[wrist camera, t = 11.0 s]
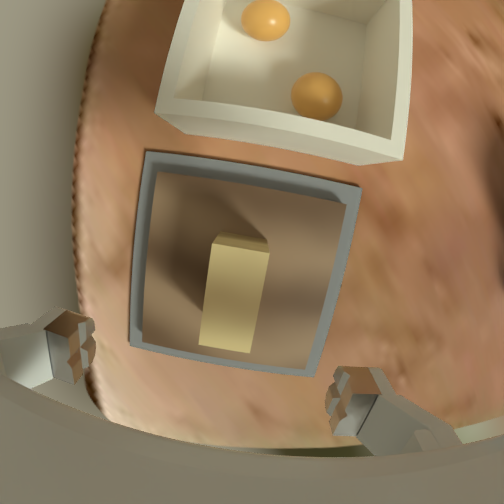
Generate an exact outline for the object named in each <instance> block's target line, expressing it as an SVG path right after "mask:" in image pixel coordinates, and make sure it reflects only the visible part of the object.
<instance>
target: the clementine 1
mask: <svg viewBox="0 0 504 504" xmlns="http://www.w3.org/2000/svg"><path fill="white" fill-rule="evenodd" d="M241 24H242V27H243V29H244V31H245V32H246V33H247V34H248V35H249V36H250V37H252V38H253V39H256V40H259V41H274V40H276V39H279V38H280V37H282V36H283V35H284V34H285V33H286V32H287V30H288V29H289V26H290V15H289V12H288V10H287V9H286V8H285V6H283V5H282V4H281V3H280V2H278V1H275V0H255V1H253V2H251V3H250V4H248V5H247V6H246V7H245V9H244V10H243V12H242V15H241Z"/></svg>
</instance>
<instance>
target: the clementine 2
mask: <svg viewBox="0 0 504 504" xmlns="http://www.w3.org/2000/svg"><path fill="white" fill-rule="evenodd" d="M342 100H343V96H342V91H341V88H340V86H339V84H338V83H337V82H336V81H335V80H334V79H333V78H332V77H330V76H329V75H327V74H324V73H320V72H311V73H307V74H305V75H303V76H301V77H300V78H298V79H297V80H296V82H295V83H294V85H293V87H292V90H291V101H292V104H293V106H294V108H295V110H296V111H297V112H298V113H299V114H300V115H301V116H303V117H306V118H310V119H315V120H319V121H324V120H328V119H330V118H332V117H333V116H334V115H335V114H337V112H338V111H339V109H340V108H341V105H342Z"/></svg>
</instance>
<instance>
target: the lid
mask: <svg viewBox="0 0 504 504" xmlns="http://www.w3.org/2000/svg"><path fill="white" fill-rule="evenodd" d="M346 205H347V204H343V203H339V202H334V201H330V200H325V199H320V198H315V197H311V196H306V195H301V194H296V193H290V192H285V191H280V190H275V189H269V188H264V187H258V186H252V185H246V184H240V183H234V182H228V181H222V180H216V179H209V178H202V177H196V176H189V175H181V174H174V173H166V172H157V178H156V184H155V191H154V198H153V206H152V214H151V222H150V231H149V240H148V250H147V261H146V273H145V287H144V304H143V326H142V342H144V343H149V344H153V345H157V346H162V347H166V348H171V349H175V350H180V351H185V352H190V353H195V354H200V355H206V356H211V357H217V358H223V359H228V360H235V361H241V362H247V363H254V364H261V365H269V366H276V367H285V368H293V369H302V370H305V368H306V365H307V362H308V358H309V355H310V352H311V348H312V345H313V341H314V338H315V334H316V331H317V327H318V324H319V320H320V316H321V313H322V309H323V305H324V301H325V298H326V294H327V290H328V286H329V282H330V278H331V274H332V269H333V265H334V261H335V257H336V252H337V248H338V244H339V239H340V234H341V230H342V225H343V220H344V215H345V210H346Z"/></svg>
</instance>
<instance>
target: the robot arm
mask: <svg viewBox="0 0 504 504" xmlns="http://www.w3.org/2000/svg"><path fill="white" fill-rule="evenodd" d="M94 331H95V325H94V321H93V319H92V318H90V317H86V316H83V315H80V314H77V313H74V312H71V311H68V310H66V309H62V308H59V307H53V308H52V309H51V310H50V311H48V312H47V313H46V314H44V315H43V316H41V317H40V318H39V319H38V320H36V321H35V322H33V323H32V324H31V325H30V324H21V325H16V326H10V327H5V328H0V504H504V434H503V435H499V436H495V437H492V438H488V439H484V440H480V441H476V442H471V443H467V444H462V442H461V441H460V439H459V438H458V436H457V435H456V433H455V432H454V430H453V428H452V427H451V425H449V424H447V423H445V422H444V421H442V420H440V419H439V418H437V417H435V416H434V415H432V414H430V413H429V412H427V411H426V410H424V409H422V408H421V407H419V406H417V405H416V404H414V403H412V402H411V401H409V400H408V399H406V398H404V397H403V396H401V395H396V393H395V391H394V390H393V388H392V386H391V385H390V383H389V381H388V379H387V378H386V376H385V374H384V373H383V371H382V369H380V368H373V367H349V366H338V367H337V369H336V370H335V373H334V375H333V377H334V380H335V382H334V383H333V384H332V385H330V386H329V388H328V391H327V393H326V399H325V408H326V412H327V413H328V414H329V415H330V416H331V418H330V420H329V424H330V427H331V431H332V435H336V436H357V438H358V439H359V440H360V441H361V442H362V443H363V444H364V445H365V446H366V447H367V448H368V449H369V450H370V451H371V452H372V453H373V454H374V455H375V456H369V457H338V458H337V457H336V458H335V457H334V458H333V457H297V456H282V455H281V456H280V455H269V454H259V453H250V452H242V451H235V450H228V449H222V448H215V447H209V446H204V445H199V444H194V443H189V442H184V441H179V440H175V439H171V438H166V437H162V436H158V435H154V434H151V433H147V432H143V431H140V430H136V429H133V428H129V427H126V426H123V425H120V424H117V423H113V422H110V421H107V420H105V419H101V418H98V417H96V416H93V415H90V414H88V413H85V412H82V411H80V410H77V409H75V408H72V407H70V406H67V405H65V404H62V403H60V402H58V401H55V400H53V399H51V398H49V397H46V396H44V395H42V394H40V393H37V392H35V391H33V390H31V388H33V387H35V386H38V385H40V384H42V383H44V382H47V381H49V380H51V379H53V377H54V378H56V379H59V380H62V381H65V382H67V383H70V384H73V385H75V384H76V382H77V381H78V380H79V379H80V377H81V376H82V375H83V368H86V367H89V366H90V364H91V363H92V362H93V359H94V356H95V351H96V342H95V340H94V338H93V337H92V333H93V332H94Z"/></svg>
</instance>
